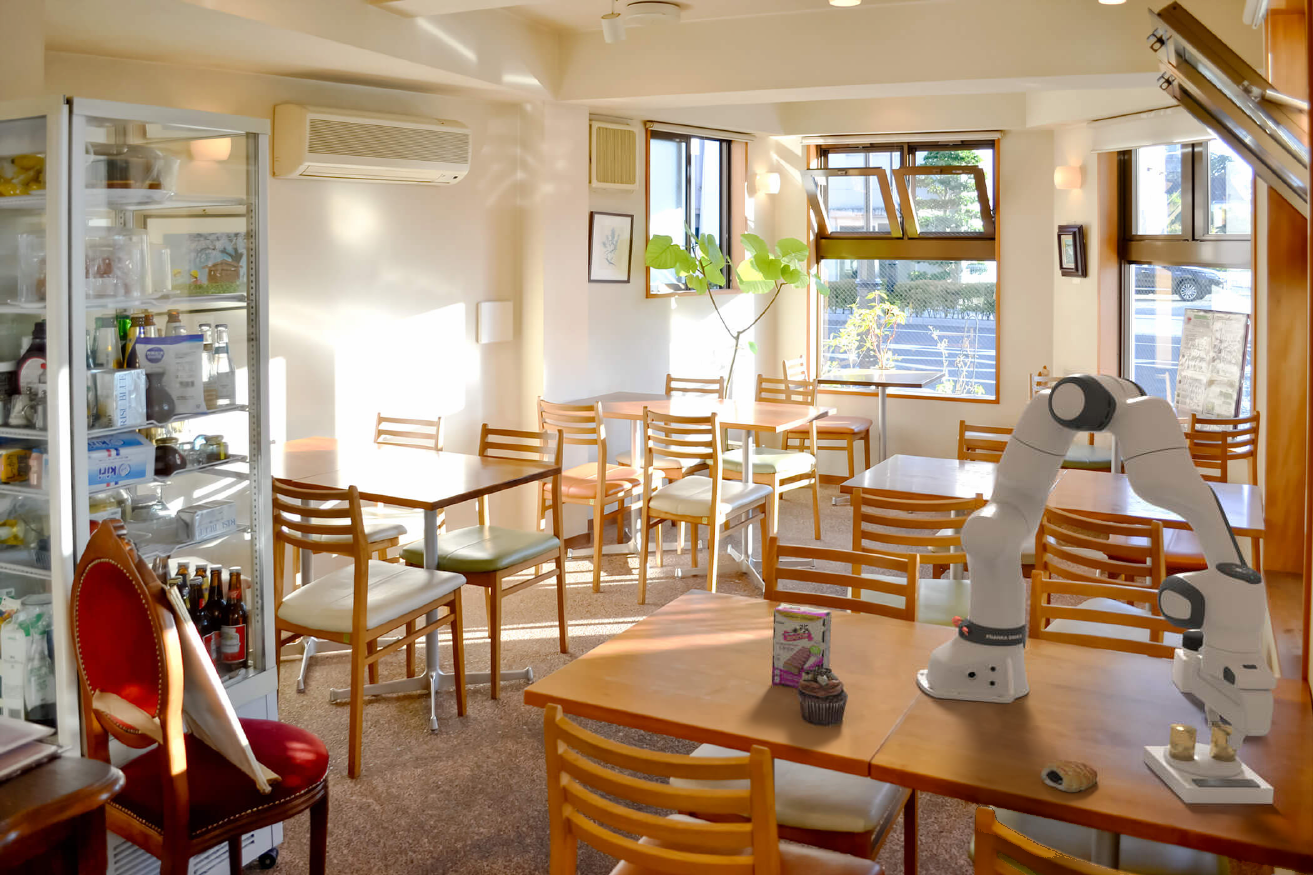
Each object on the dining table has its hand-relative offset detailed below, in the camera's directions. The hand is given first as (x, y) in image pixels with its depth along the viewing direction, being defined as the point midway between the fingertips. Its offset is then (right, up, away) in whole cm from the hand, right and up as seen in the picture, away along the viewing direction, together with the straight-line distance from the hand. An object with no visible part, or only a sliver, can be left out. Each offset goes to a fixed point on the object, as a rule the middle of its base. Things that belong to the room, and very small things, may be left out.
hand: (1224, 739), depth 187 cm
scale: (-3, -7, -1) cm, 8 cm away
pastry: (-27, -7, -1) cm, 28 cm away
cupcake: (-64, -3, +25) cm, 69 cm away
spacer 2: (0, -3, 0) cm, 3 cm away
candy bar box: (-66, -1, +42) cm, 79 cm away
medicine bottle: (+16, -1, +42) cm, 45 cm away
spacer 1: (-7, -3, +1) cm, 8 cm away
